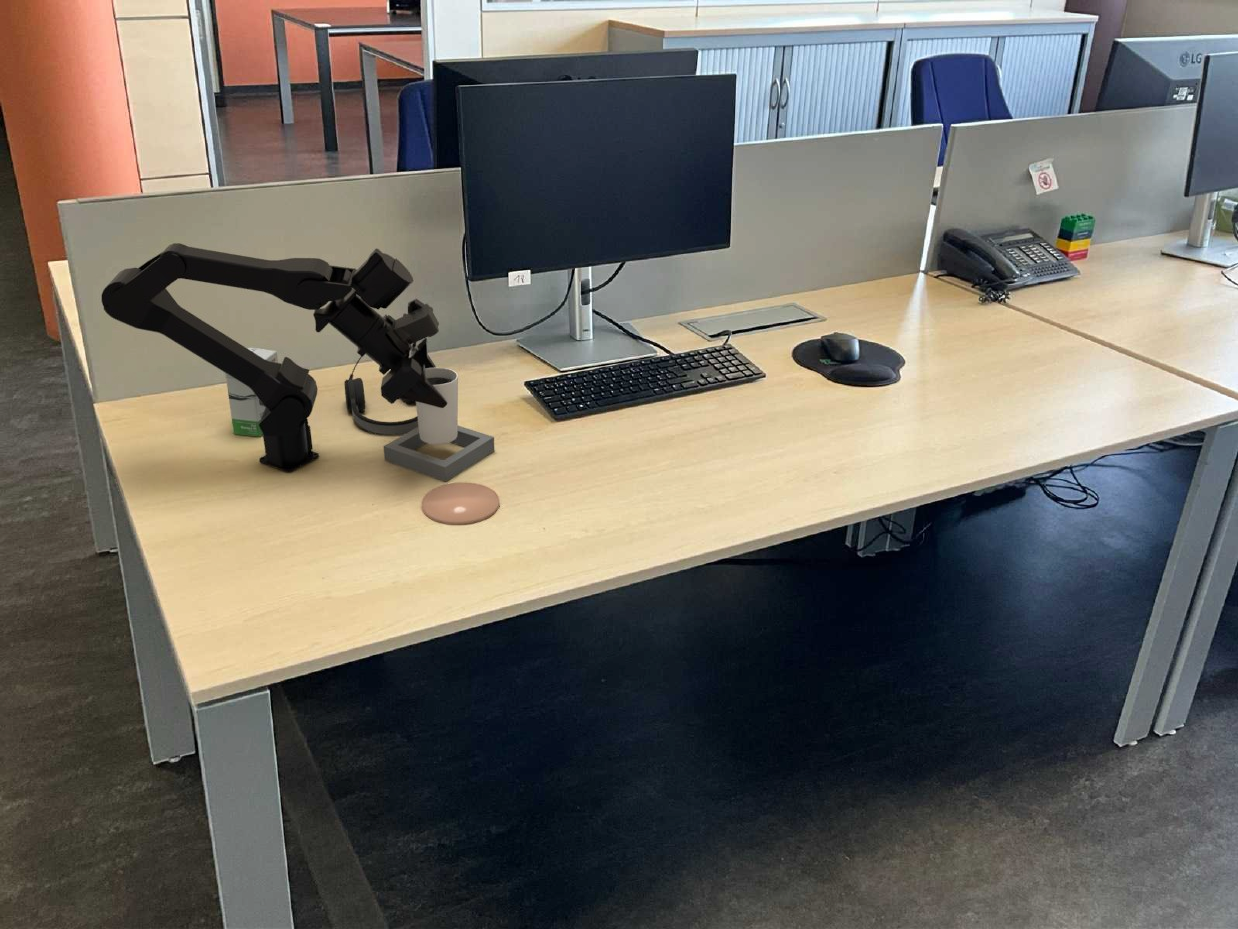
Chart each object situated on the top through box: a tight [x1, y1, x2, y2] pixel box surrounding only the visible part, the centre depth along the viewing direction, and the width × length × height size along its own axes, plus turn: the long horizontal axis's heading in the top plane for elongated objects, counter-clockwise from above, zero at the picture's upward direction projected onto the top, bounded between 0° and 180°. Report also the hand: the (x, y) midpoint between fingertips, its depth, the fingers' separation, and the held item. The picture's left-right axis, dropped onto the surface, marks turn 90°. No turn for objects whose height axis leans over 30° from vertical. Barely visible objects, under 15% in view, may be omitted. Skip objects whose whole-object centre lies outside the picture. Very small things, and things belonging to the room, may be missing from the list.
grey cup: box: [415, 366, 459, 445], centre depth 165 cm, size 7×7×10 cm
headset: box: [343, 356, 419, 436], centre depth 181 cm, size 13×9×19 cm
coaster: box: [421, 481, 500, 526], centre depth 156 cm, size 11×11×1 cm
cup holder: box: [383, 425, 495, 483], centre depth 168 cm, size 12×12×2 cm
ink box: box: [224, 347, 279, 437], centre depth 174 cm, size 9×5×12 cm, turn 168°
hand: (445, 396), depth 164 cm, fingers closed on grey cup, 6 cm apart
